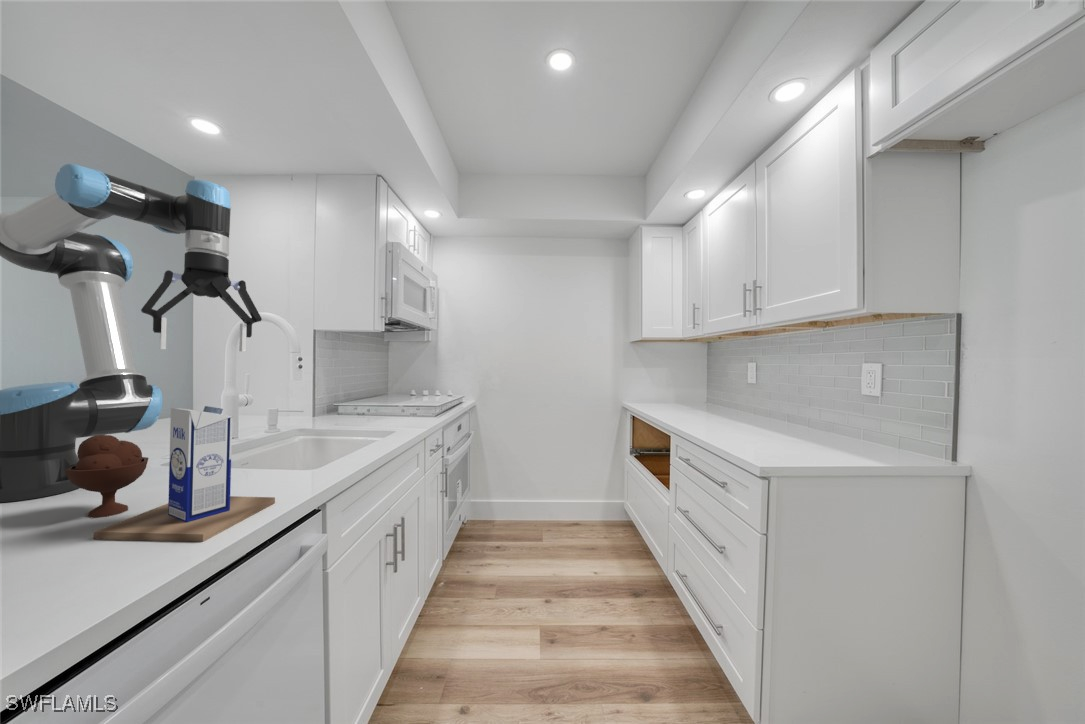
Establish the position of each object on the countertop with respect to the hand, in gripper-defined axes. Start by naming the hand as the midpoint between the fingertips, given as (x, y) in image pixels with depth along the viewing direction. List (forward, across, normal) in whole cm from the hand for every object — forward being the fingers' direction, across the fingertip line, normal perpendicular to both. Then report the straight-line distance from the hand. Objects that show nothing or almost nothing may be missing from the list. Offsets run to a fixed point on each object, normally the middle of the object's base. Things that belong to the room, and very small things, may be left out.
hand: (204, 350), depth 89 cm
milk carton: (+31, -2, -18) cm, 36 cm away
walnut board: (+32, -3, -17) cm, 36 cm away
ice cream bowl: (+32, -14, -2) cm, 35 cm away
